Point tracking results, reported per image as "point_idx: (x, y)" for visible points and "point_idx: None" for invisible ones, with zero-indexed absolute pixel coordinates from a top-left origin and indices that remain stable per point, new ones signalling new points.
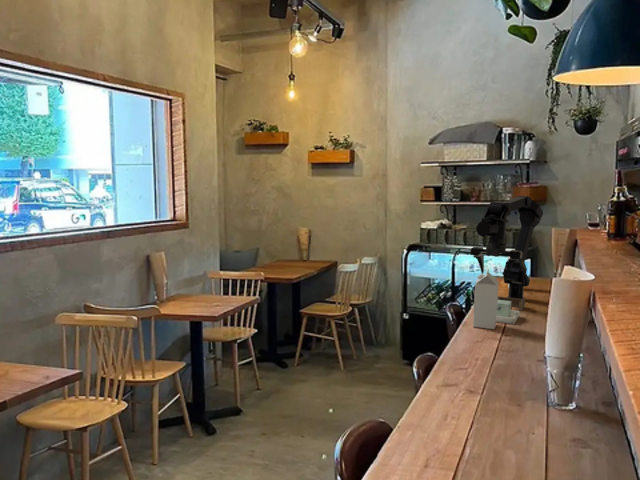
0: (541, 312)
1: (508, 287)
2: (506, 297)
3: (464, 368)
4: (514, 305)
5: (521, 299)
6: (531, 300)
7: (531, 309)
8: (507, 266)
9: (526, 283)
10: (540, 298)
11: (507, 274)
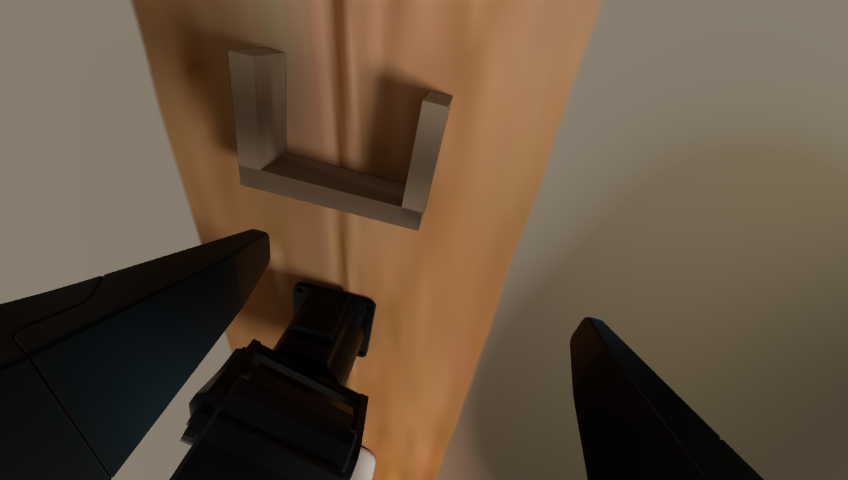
0: (146, 48)
1: (373, 457)
2: (357, 210)
3: None
4: (319, 165)
5: (259, 178)
6: (266, 312)
7: (220, 118)
8: (115, 312)
9: (229, 363)
10: (241, 348)
11: (234, 238)
